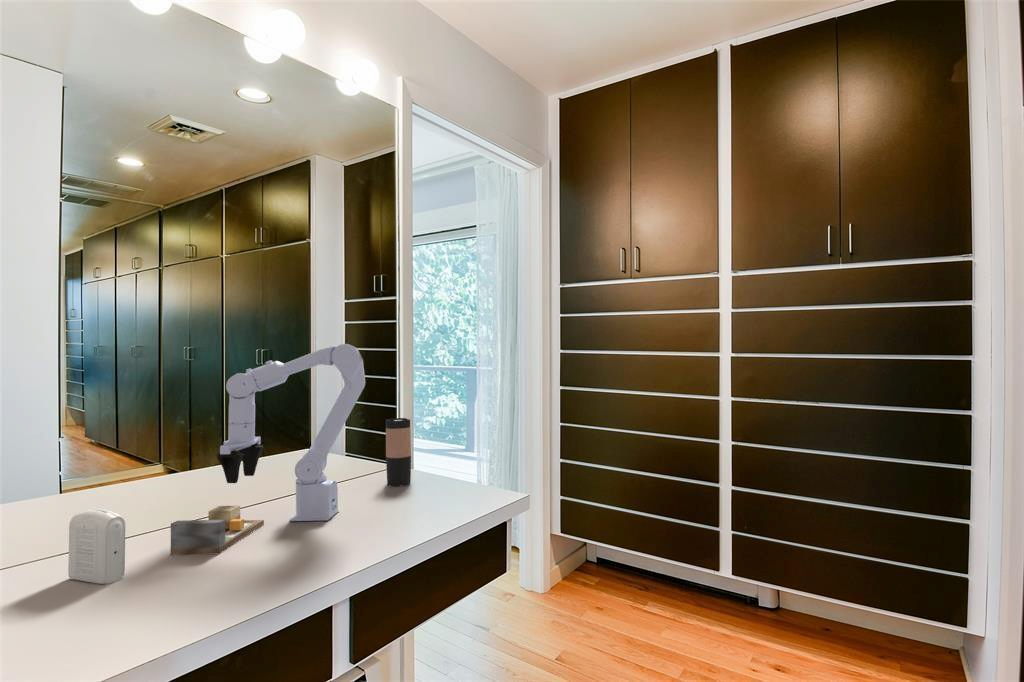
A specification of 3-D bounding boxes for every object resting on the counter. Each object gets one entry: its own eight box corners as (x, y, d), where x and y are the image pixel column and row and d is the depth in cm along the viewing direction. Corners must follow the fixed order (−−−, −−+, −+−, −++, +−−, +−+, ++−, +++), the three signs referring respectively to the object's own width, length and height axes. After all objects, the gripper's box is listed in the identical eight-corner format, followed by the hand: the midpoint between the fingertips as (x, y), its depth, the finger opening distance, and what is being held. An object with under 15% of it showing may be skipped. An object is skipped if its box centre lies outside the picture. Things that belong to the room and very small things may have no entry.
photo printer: (129, 576, 94) (129, 508, 94) (104, 586, 90) (104, 515, 90) (89, 570, 97) (90, 504, 97) (63, 580, 93) (64, 511, 93)
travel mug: (382, 486, 157) (381, 420, 158) (392, 480, 165) (391, 418, 166) (406, 486, 156) (405, 420, 157) (414, 480, 164) (414, 417, 164)
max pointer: (244, 528, 115) (243, 518, 115) (240, 530, 113) (240, 521, 113) (233, 528, 115) (233, 519, 115) (229, 530, 113) (229, 521, 113)
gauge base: (263, 525, 122) (263, 498, 122) (219, 553, 104) (219, 522, 104) (222, 525, 122) (222, 499, 122) (170, 554, 104) (170, 523, 104)
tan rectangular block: (251, 522, 119) (251, 505, 119) (242, 528, 115) (241, 510, 115) (218, 523, 119) (218, 506, 119) (208, 529, 115) (208, 511, 115)
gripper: (241, 419, 132) (240, 472, 132) (207, 426, 118) (206, 486, 117) (268, 419, 132) (268, 472, 132) (237, 426, 118) (236, 486, 117)
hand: (240, 479), depth 124 cm, fingers open, 7 cm apart
